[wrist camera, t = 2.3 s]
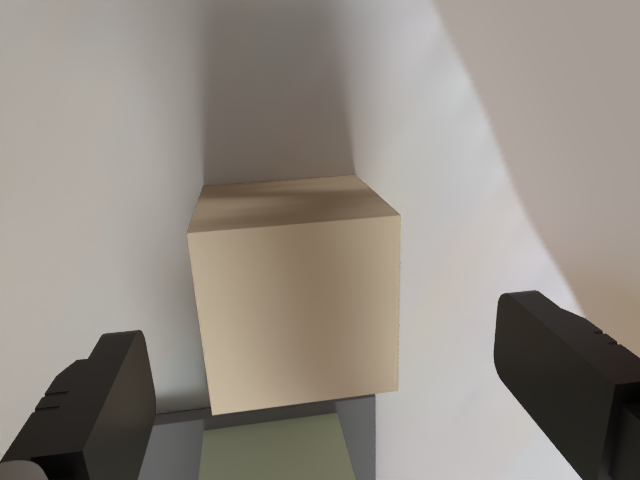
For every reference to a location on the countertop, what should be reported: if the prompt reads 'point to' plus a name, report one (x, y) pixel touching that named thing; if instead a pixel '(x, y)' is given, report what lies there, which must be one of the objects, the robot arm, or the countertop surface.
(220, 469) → the sage block
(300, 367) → the maple block
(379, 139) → the countertop surface
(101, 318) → the countertop surface
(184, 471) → the build mat
